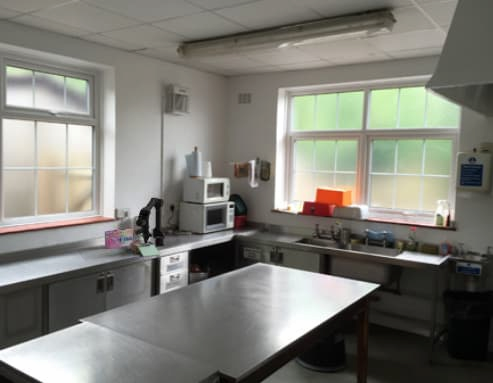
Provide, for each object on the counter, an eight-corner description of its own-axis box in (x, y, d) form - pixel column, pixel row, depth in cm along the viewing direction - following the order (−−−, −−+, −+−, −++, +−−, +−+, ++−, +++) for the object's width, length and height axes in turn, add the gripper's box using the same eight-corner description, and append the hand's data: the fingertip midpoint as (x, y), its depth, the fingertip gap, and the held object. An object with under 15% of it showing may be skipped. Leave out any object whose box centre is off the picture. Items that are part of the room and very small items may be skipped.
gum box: (130, 243, 384) (129, 227, 382) (135, 244, 378) (134, 229, 377) (104, 247, 366) (104, 231, 365) (109, 249, 361) (109, 232, 360)
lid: (153, 245, 354) (153, 242, 353) (160, 255, 339) (160, 252, 338) (137, 246, 348) (137, 243, 347) (143, 257, 333) (143, 253, 332)
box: (149, 246, 369) (149, 240, 369) (156, 251, 353) (156, 244, 353) (130, 248, 362) (130, 242, 361) (136, 253, 346) (135, 246, 345)
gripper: (132, 223, 353) (132, 243, 354) (138, 227, 337) (138, 247, 338) (145, 222, 358) (146, 241, 360) (152, 226, 342) (152, 246, 343)
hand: (145, 244), depth 350 cm, fingers closed
